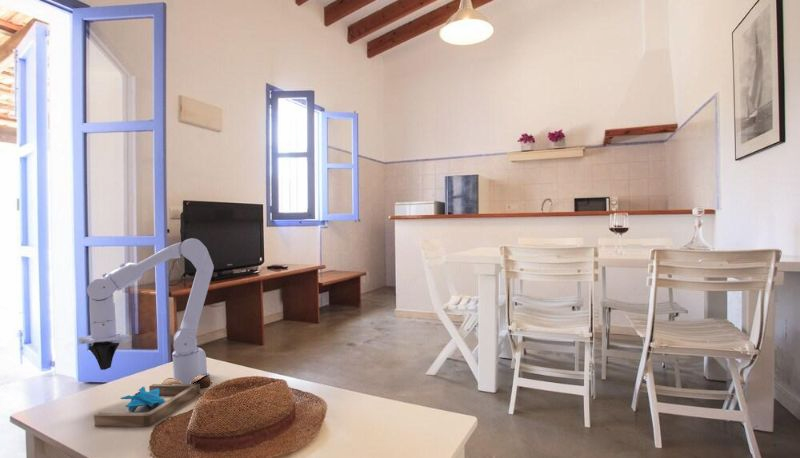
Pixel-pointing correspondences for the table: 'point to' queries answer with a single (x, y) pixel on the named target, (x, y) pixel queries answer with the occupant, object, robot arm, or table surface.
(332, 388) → the table surface
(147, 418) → the brown wooden u shape
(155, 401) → the toy airplane
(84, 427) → the table surface
